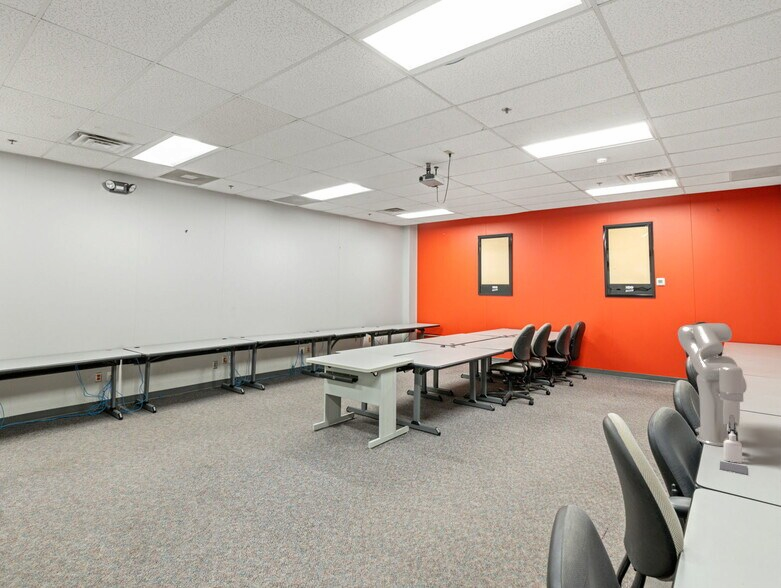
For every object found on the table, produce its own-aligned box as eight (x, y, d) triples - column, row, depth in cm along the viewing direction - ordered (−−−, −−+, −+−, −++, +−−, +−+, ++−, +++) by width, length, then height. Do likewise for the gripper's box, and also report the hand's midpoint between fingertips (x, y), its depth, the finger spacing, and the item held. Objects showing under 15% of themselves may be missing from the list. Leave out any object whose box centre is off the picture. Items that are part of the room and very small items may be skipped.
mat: (720, 462, 162) (720, 461, 162) (746, 467, 157) (746, 466, 157) (719, 469, 156) (719, 468, 156) (747, 475, 150) (747, 473, 150)
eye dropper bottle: (741, 464, 160) (740, 434, 160) (722, 460, 164) (722, 430, 164) (743, 461, 162) (742, 431, 163) (725, 457, 167) (724, 428, 167)
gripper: (720, 392, 175) (721, 435, 175) (719, 398, 164) (720, 444, 163) (743, 394, 171) (744, 438, 170) (743, 401, 159) (745, 448, 159)
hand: (732, 441), depth 167 cm, fingers closed
